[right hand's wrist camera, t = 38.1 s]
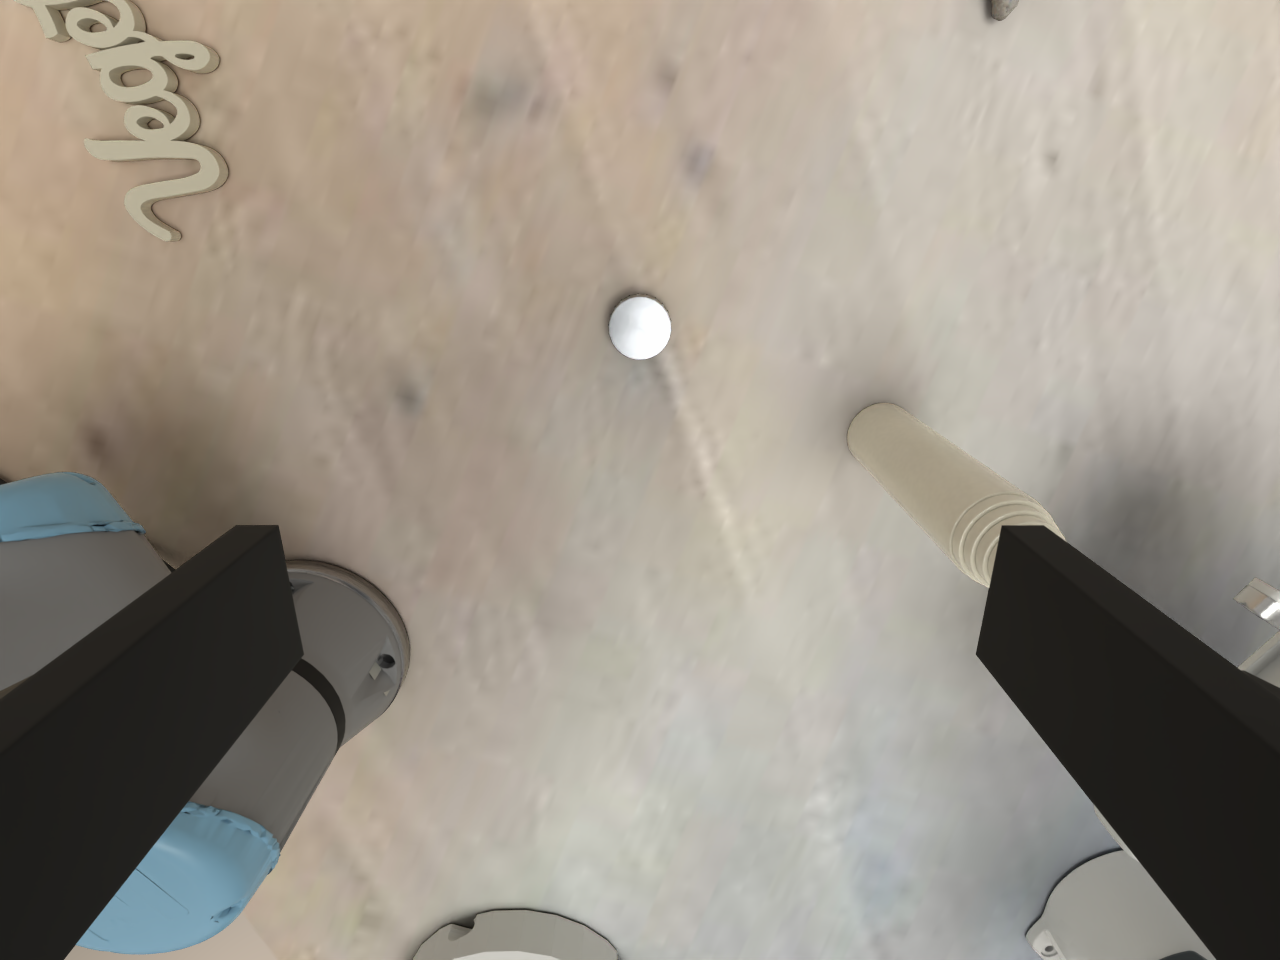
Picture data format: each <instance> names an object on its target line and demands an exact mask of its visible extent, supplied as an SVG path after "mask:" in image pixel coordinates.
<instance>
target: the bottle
mask: <svg viewBox="0 0 1280 960" xmlns="http://www.w3.org/2000/svg"><path fill="white" fill-rule="evenodd" d="M847 442H848V447H849V450H850V452H851V453H852V455H853V456H854V457H855V458H856V460H857V461H858V462H859V463H860V464H861V465H862V466H863V467H864V468H865V469H866V470H867V471H868V472H869V473H870V475H871V476H872V477H873V478H874V479H875V480H876V481H877V482H878V483H879V484H880V485H881V486H882V487H883V488H884V489H885V491H886V492H887V493H888V494H889V495H890V496H891V497H892V498H893V499H894V500H895V501H896V502H897V503H898V504H899V506H900V507H901V508H902V509H903V510H904V511H905V512H906V513H907V514H908V515H909V516H910V517H911V518H912V519H913V521H914V522H915V523H916V524H917V525H918V526H919V527H920V528H921V529H922V530H923V531H924V532H925V533H926V534H927V536H928V537H929V538H930V539H931V540H932V541H933V542H934V543H935V544H936V545H937V546H938V547H939V548H940V549H941V550H942V552H943V553H944V554H945V555H946V556H947V557H948V558H949V559H950V560H951V561H952V562H953V563H954V564H955V565H956V567H957V568H958V569H959V570H960V571H962V572H963V573H964V574H966V575H967V576H969V577H970V578H971V579H972V580H974V581H975V582H977V583H979V584H982V585H984V586H986V587H988V588H989V586H990V581H991V576H992V571H993V566H994V561H995V556H996V551H997V546H998V541H999V536H1000V531H1001V526H1002V525H1044V526H1045V527H1047V528H1048V529H1050V530H1051V531H1052V532H1054V533H1055V534H1056V535H1058V536H1059V537H1060V538H1062V539H1063V540H1064V541H1066V539H1065V537H1064V536H1063V534H1062V533H1061V532H1060V530H1059V528H1058V526H1057V525H1056V524H1055V522H1054V521H1053V519H1052V517H1051V515H1050V514H1049V513H1048V512H1047V511H1046V510H1045V509H1044V508H1043V507H1042V506H1041V505H1040V504H1039V503H1038V502H1037V501H1036V500H1035V499H1033V498H1032V497H1030V496H1029V495H1027V494H1026V493H1025V492H1023V491H1022V490H1020V489H1019V488H1017V487H1016V486H1014V485H1013V484H1011V483H1010V482H1009V481H1007V480H1006V479H1004V478H1003V477H1001V476H1000V475H998V474H997V473H995V472H994V471H993V470H991V469H990V468H988V467H987V466H985V465H984V464H982V463H981V462H979V461H978V460H977V459H975V458H974V457H972V456H971V455H969V454H968V453H966V452H965V451H964V450H962V449H961V448H959V447H958V446H956V445H955V444H953V443H952V442H950V441H949V440H948V439H946V438H945V437H943V436H942V435H940V434H939V433H937V432H936V431H934V430H933V429H932V428H930V427H929V426H927V425H926V424H924V423H923V422H921V421H920V420H918V419H917V418H916V417H914V416H913V415H911V414H910V413H908V412H907V411H905V410H904V409H902V408H901V407H899V406H897V405H895V404H891V403H878V404H874V405H871V406H869V407H867V408H865V409H864V410H862V411H861V412H860V413H859V414H858V415H857V416H856V417H855V418H854V419H853V421H852V423H851V424H850V427H849V430H848V434H847ZM1067 543H1068V542H1067Z"/></svg>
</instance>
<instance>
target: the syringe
mask: <svg viewBox="0 0 1280 960" xmlns="http://www.w3.org/2000/svg"><path fill="white" fill-rule="evenodd" d="M1018 2H1019V0H991V13H992V17H993V18H994V19H996V20H998V21H1001V20H1003V19H1005V18H1006V17H1007V16H1008V15H1009V14H1010V12H1011V11H1012V10H1013V9H1014V8H1015V7H1016V6H1017V4H1018Z"/></svg>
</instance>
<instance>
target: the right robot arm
mask: <svg viewBox="0 0 1280 960" xmlns="http://www.w3.org/2000/svg"><path fill="white" fill-rule="evenodd" d="M145 533H146V531H145V530H144V528H143V527H142V526H141V525H140V524H138V523H134V522H133V521H132V520H131V519H130V517H129V516H128V515H127V514H126V513H125V511H124V510H123V509H122V508H121V506H120V505H119V504H118V503H117V501H116V500H115V499H114V498H113V497H112V495H111V494H110V493H109V492H108V490H107V489H106V488H105V487H104V486H103V485H102V484H101V483H100V482H98V481H97V480H95V479H93V478H92V477H89V476H87V475H84V474H79V473H73V472H57V473H50V474H44V475H39V476H34V477H30V478H26V479H22V480H18V481H14V482H10V483H7V482H5V481H3V480H2V479H0V960H64V959H65V958H66V956H67V955H68V954H69V952H70V951H71V950H72V949H73V947H74V946H75V945H78V946H81V947H85V948H89V949H93V950H99V951H110V952H114V953H122V954H155V953H164V952H170V951H175V950H180V949H183V948H187V947H190V946H192V945H195V944H198V943H201V942H203V941H205V940H207V939H209V938H211V937H213V936H214V935H216V934H218V933H219V932H220V931H222V930H223V929H225V928H226V927H227V926H228V925H229V924H231V923H232V922H233V921H234V920H235V919H236V918H237V917H238V916H239V914H240V913H241V912H242V911H243V909H244V908H245V906H246V905H247V903H248V902H249V901H250V899H251V898H252V896H253V895H254V893H255V892H256V890H257V889H258V887H259V886H260V885H261V883H262V882H263V880H264V879H265V877H266V876H267V875H268V874H269V873H270V872H271V871H272V870H273V869H274V867H275V865H276V864H277V862H278V859H279V856H280V852H281V850H282V848H283V847H284V845H285V843H286V841H287V839H288V838H289V836H290V834H291V832H292V831H293V829H294V827H295V825H296V823H297V822H298V820H299V818H300V816H301V815H302V813H303V811H304V809H305V807H306V806H307V804H308V802H309V800H310V799H311V797H312V795H313V793H314V792H315V790H316V788H317V786H318V785H319V783H320V781H321V779H322V778H323V776H324V774H325V772H326V771H327V769H328V767H329V765H330V764H331V762H332V760H333V758H334V756H335V755H336V753H337V751H338V749H339V748H340V747H341V746H342V745H344V744H345V743H346V742H347V741H349V740H350V739H351V738H352V737H354V736H355V735H356V734H357V733H359V732H360V731H361V730H363V729H364V728H365V727H366V726H368V725H369V724H370V723H371V722H373V721H374V720H375V719H377V718H378V717H379V716H380V715H381V714H383V713H384V712H385V711H386V709H387V708H388V707H389V706H390V705H391V703H392V702H393V700H394V698H395V697H396V695H397V693H398V691H399V689H400V687H401V685H402V683H403V681H404V679H405V677H406V674H407V671H408V667H409V660H410V647H409V640H408V636H407V632H406V629H405V627H404V624H403V622H402V620H401V618H400V616H399V615H398V613H397V611H396V610H395V608H394V607H393V606H392V604H391V603H390V602H389V601H388V600H387V598H386V597H385V596H384V595H383V594H382V593H381V592H380V591H379V590H377V589H376V588H375V587H374V586H372V585H371V584H370V583H368V582H367V581H365V580H364V579H362V578H361V577H359V576H357V575H355V574H354V573H351V572H349V571H347V570H345V569H342V568H340V567H337V566H334V565H330V564H327V563H322V562H316V561H308V560H293V561H285V556H284V551H283V546H282V541H281V536H280V531H279V526H278V525H236V526H235V527H233V528H232V529H230V530H229V531H228V532H226V533H225V534H224V535H222V536H221V537H220V538H218V539H217V540H216V541H214V542H213V543H211V544H210V545H209V546H207V547H206V548H205V549H203V550H202V551H201V552H199V553H198V554H196V555H195V556H194V557H192V558H191V559H190V560H188V561H187V562H186V563H184V564H183V565H182V566H180V567H179V568H177V569H176V570H175V569H174V568H172V567H171V566H170V565H169V564H167V563H166V562H165V561H163V560H162V559H161V558H160V556H159V555H158V554H157V552H156V551H155V550H154V548H153V547H152V545H151V544H150V543H149V541H148V540H147V539H146V537H145V536H144V534H145ZM976 655H977V657H978V658H979V659H980V660H981V662H982V663H983V664H984V665H985V667H986V668H987V669H988V671H989V672H990V673H991V674H992V676H993V677H994V678H995V679H996V681H997V682H998V683H999V684H1000V686H1001V687H1002V688H1003V690H1004V691H1005V692H1006V693H1007V695H1008V696H1009V697H1010V698H1011V700H1012V701H1013V702H1014V704H1015V705H1016V706H1017V707H1018V709H1019V710H1020V711H1021V712H1022V714H1023V715H1024V716H1025V718H1026V719H1027V720H1028V721H1029V723H1030V724H1031V725H1032V726H1033V728H1034V729H1035V730H1036V731H1037V733H1038V734H1039V735H1040V737H1041V738H1042V739H1043V740H1044V742H1045V743H1046V744H1047V745H1048V747H1049V748H1050V749H1051V751H1052V752H1053V753H1054V754H1055V756H1056V757H1057V758H1058V759H1059V761H1060V762H1061V763H1062V765H1063V766H1064V767H1065V768H1066V770H1067V771H1068V772H1069V773H1070V775H1071V776H1072V777H1073V778H1074V780H1075V781H1076V782H1077V784H1078V785H1079V786H1080V787H1081V789H1082V790H1083V791H1084V792H1085V794H1086V795H1087V796H1088V798H1089V799H1090V800H1091V801H1092V803H1093V804H1094V805H1095V806H1096V808H1097V809H1098V810H1099V812H1100V813H1101V814H1102V815H1103V817H1104V818H1105V819H1106V820H1107V822H1108V823H1109V824H1110V825H1111V827H1112V828H1113V829H1114V831H1115V832H1116V833H1117V834H1118V836H1119V837H1120V838H1121V839H1122V841H1123V842H1124V843H1125V845H1126V846H1127V847H1128V848H1129V850H1130V851H1131V852H1132V853H1133V855H1134V856H1135V857H1136V859H1137V860H1138V861H1139V862H1140V864H1141V865H1142V866H1143V867H1144V869H1145V870H1146V871H1147V872H1148V874H1149V875H1150V876H1151V878H1152V879H1153V880H1154V881H1155V883H1156V884H1157V885H1158V886H1159V888H1160V889H1161V890H1162V892H1163V893H1164V894H1165V895H1166V897H1167V898H1168V899H1169V900H1170V902H1171V903H1172V904H1173V905H1174V907H1175V908H1176V909H1177V911H1178V912H1179V913H1180V914H1181V916H1182V917H1183V918H1184V919H1185V921H1186V922H1187V923H1188V925H1189V926H1190V927H1191V928H1192V930H1193V931H1194V932H1195V933H1196V935H1197V936H1198V937H1199V939H1200V940H1201V941H1202V942H1203V944H1204V945H1205V946H1206V947H1207V949H1208V950H1209V951H1210V952H1211V954H1212V955H1213V956H1214V958H1215V959H1216V960H1280V688H1279V687H1277V686H1275V685H1273V684H1271V683H1269V682H1267V681H1265V680H1263V679H1261V678H1259V677H1257V676H1255V675H1253V674H1251V673H1249V672H1247V671H1244V670H1240V669H1238V668H1237V667H1236V666H1234V665H1233V664H1231V663H1230V662H1229V661H1227V660H1226V659H1225V658H1223V657H1222V656H1221V655H1219V654H1218V653H1217V652H1215V651H1214V650H1212V649H1211V648H1210V647H1208V646H1207V645H1206V644H1204V643H1203V642H1202V641H1200V640H1199V639H1198V638H1196V637H1195V636H1193V635H1192V634H1191V633H1189V632H1188V631H1187V630H1185V629H1184V628H1183V627H1181V626H1180V625H1179V624H1177V623H1176V622H1174V621H1173V620H1172V619H1170V618H1169V617H1168V616H1166V615H1165V614H1164V613H1162V612H1161V611H1160V610H1158V609H1157V608H1155V607H1154V606H1153V605H1151V604H1150V603H1149V602H1147V601H1146V600H1145V599H1143V598H1142V597H1141V596H1139V595H1138V594H1136V593H1135V592H1134V591H1132V590H1131V589H1130V588H1128V587H1127V586H1126V585H1124V584H1123V583H1122V582H1120V581H1119V580H1117V579H1116V578H1115V577H1113V576H1112V575H1111V574H1109V573H1108V572H1107V571H1105V570H1104V569H1103V568H1101V567H1100V566H1098V565H1097V564H1096V563H1094V562H1093V561H1092V560H1090V559H1089V558H1088V557H1086V556H1085V555H1084V554H1082V553H1081V552H1079V551H1078V550H1077V549H1075V548H1074V547H1073V546H1071V545H1070V544H1069V543H1067V542H1066V541H1064V540H1063V539H1062V538H1060V537H1059V536H1058V535H1056V534H1055V533H1054V532H1052V531H1051V530H1050V529H1048V528H1047V527H1045V526H1044V525H1002V526H1001V531H1000V536H999V541H998V546H997V551H996V556H995V561H994V566H993V571H992V576H991V581H990V586H989V591H988V596H987V601H986V606H985V611H984V616H983V621H982V626H981V631H980V636H979V641H978V646H977V651H976Z"/></svg>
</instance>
